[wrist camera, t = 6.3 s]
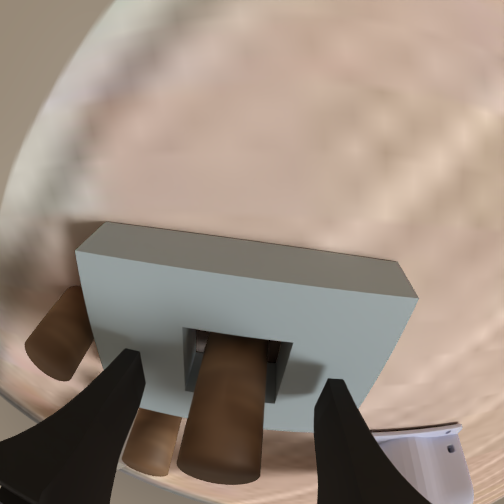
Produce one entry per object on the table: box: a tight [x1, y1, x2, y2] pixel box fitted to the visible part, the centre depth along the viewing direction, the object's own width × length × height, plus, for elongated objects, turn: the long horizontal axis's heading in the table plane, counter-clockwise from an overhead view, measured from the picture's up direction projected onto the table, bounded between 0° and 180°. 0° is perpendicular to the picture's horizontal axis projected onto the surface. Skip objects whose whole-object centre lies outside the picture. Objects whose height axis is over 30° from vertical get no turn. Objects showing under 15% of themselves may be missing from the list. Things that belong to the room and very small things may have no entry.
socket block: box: [75, 222, 419, 433], centre depth 13 cm, size 12×9×2 cm
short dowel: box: [25, 286, 94, 381], centre depth 13 cm, size 3×3×4 cm
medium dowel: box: [122, 407, 182, 476], centre depth 15 cm, size 3×3×5 cm
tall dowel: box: [177, 331, 268, 485], centre depth 11 cm, size 3×3×7 cm
